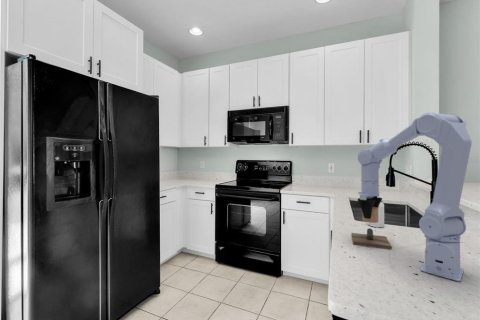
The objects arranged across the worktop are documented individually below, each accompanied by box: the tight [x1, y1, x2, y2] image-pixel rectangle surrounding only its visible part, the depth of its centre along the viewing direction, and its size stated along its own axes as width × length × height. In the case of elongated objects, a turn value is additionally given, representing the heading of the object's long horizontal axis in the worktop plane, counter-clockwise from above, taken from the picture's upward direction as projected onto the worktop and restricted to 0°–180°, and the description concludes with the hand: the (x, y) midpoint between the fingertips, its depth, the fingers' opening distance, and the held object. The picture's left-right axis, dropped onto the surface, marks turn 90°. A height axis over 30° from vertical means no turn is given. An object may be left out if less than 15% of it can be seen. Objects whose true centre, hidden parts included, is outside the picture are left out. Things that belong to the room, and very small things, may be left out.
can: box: [368, 200, 385, 228], centre depth 109 cm, size 6×6×12 cm
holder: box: [351, 228, 393, 250], centre depth 87 cm, size 12×12×5 cm
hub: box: [361, 207, 378, 223], centre depth 87 cm, size 5×5×5 cm
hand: (370, 217), depth 87 cm, fingers closed on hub, 5 cm apart
